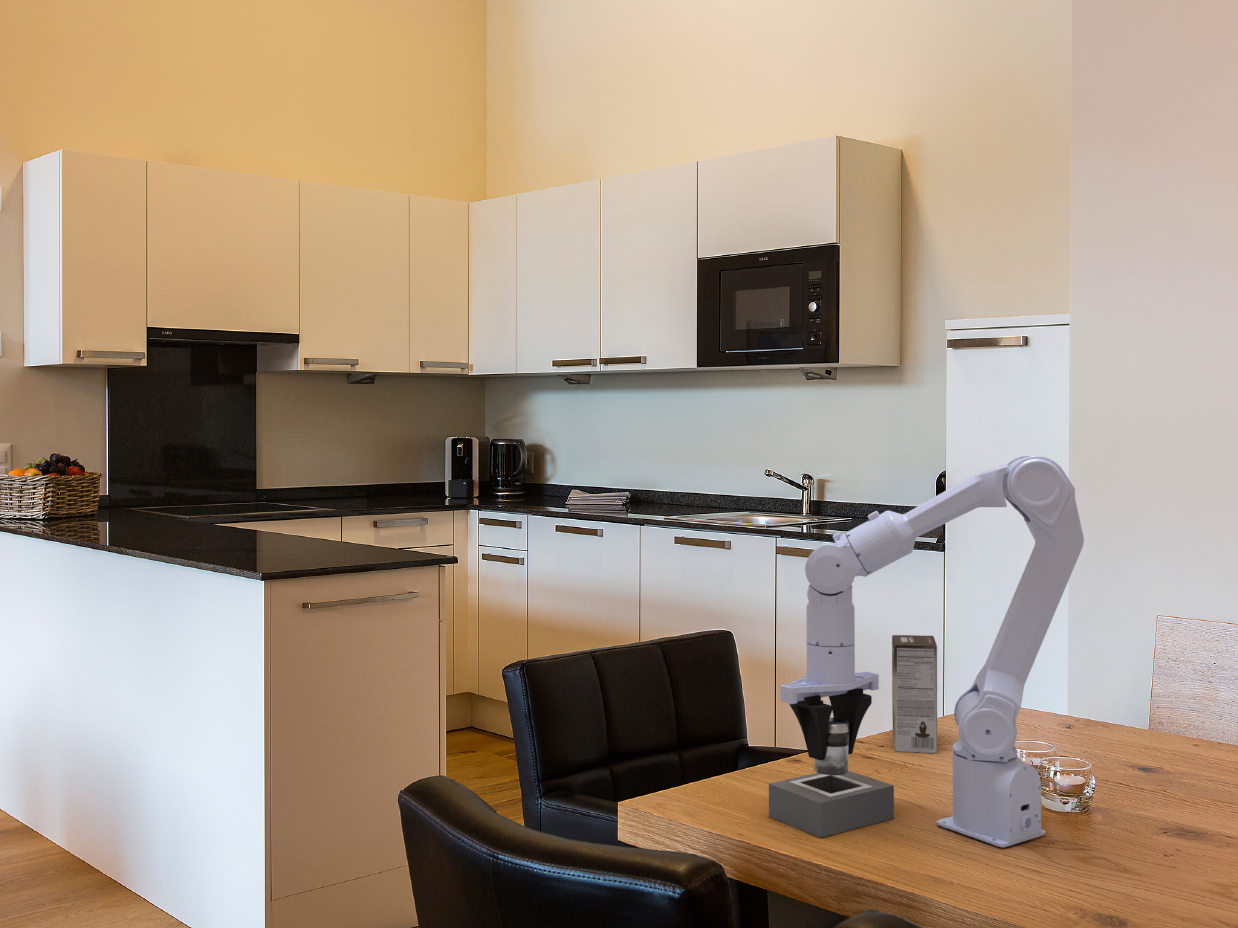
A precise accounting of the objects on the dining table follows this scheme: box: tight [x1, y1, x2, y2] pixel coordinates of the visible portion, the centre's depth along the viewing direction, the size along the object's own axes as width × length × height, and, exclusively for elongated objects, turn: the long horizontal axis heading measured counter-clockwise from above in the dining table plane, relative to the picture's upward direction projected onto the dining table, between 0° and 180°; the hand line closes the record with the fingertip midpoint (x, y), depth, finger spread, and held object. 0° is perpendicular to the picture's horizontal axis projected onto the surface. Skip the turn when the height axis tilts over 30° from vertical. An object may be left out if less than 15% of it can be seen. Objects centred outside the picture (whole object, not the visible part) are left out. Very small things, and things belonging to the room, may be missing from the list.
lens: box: [813, 716, 849, 775], centre depth 131 cm, size 4×4×6 cm
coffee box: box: [891, 634, 938, 754], centre depth 164 cm, size 9×6×16 cm
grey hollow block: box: [768, 770, 895, 838], centre depth 131 cm, size 9×12×4 cm
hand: (830, 755), depth 131 cm, fingers closed on lens, 4 cm apart
